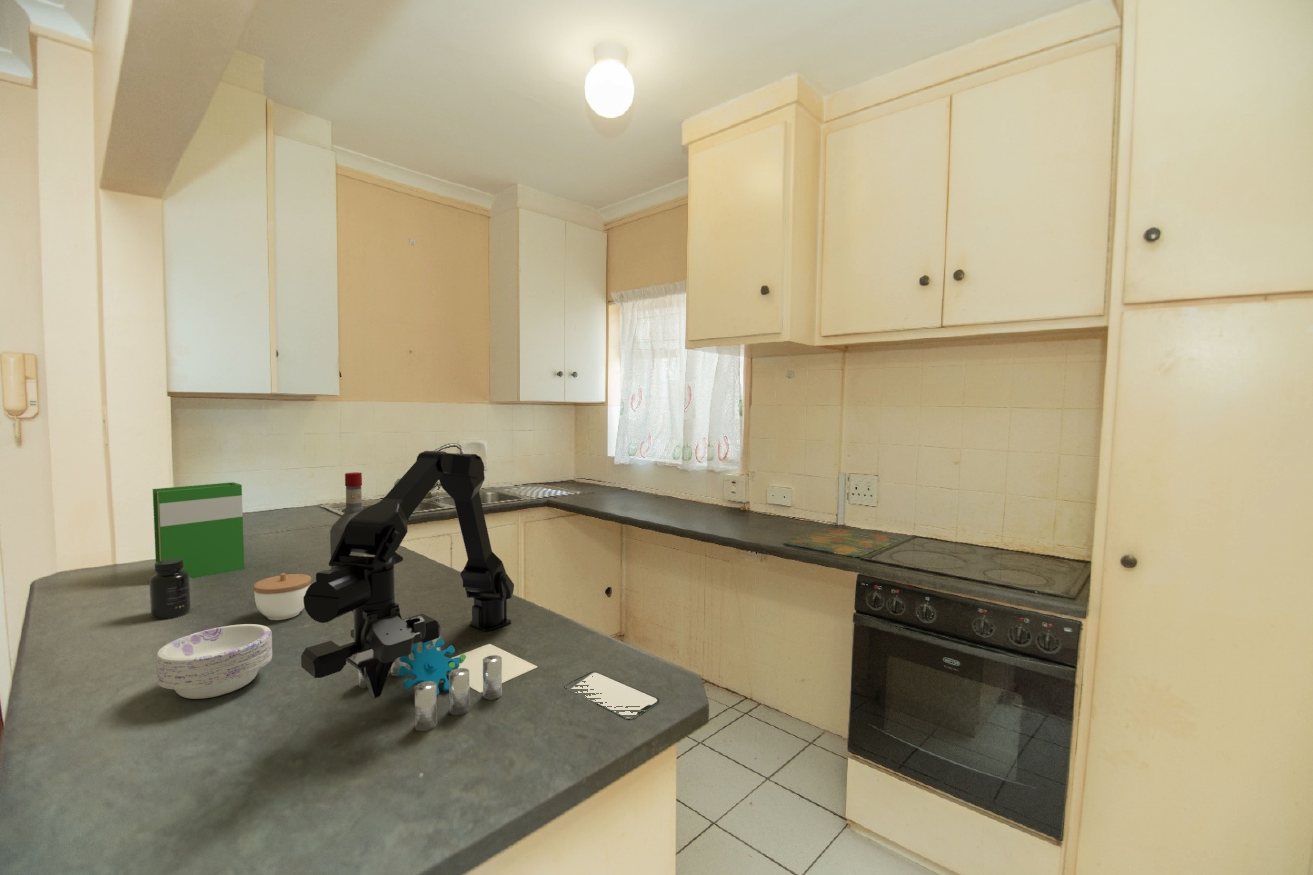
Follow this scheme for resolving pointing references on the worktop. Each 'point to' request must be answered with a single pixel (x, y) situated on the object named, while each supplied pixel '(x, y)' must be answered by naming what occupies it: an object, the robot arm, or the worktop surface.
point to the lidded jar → (281, 595)
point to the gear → (430, 665)
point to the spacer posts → (457, 689)
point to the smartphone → (616, 694)
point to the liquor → (348, 509)
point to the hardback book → (200, 527)
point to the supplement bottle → (170, 590)
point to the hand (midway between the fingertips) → (376, 696)
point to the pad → (510, 665)
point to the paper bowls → (214, 660)
